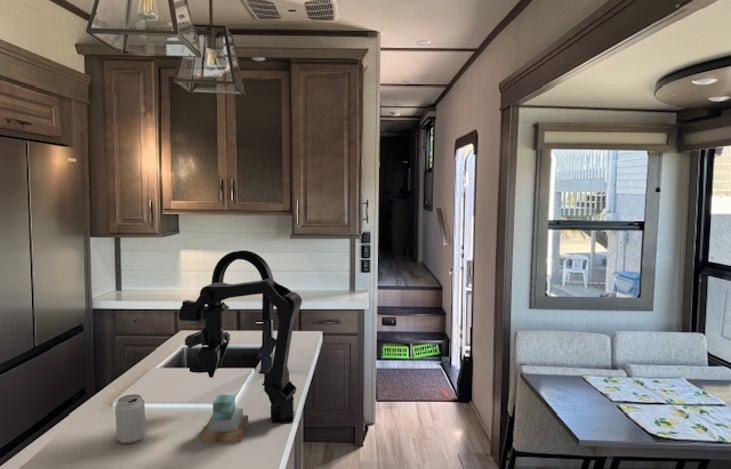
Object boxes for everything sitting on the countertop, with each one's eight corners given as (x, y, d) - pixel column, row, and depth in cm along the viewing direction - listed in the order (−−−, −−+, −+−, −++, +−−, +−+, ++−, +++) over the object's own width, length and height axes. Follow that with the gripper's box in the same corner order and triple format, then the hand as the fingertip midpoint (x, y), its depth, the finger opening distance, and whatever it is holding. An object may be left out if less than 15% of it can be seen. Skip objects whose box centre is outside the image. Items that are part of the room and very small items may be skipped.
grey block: (243, 417, 150) (242, 408, 149) (237, 431, 142) (237, 421, 141) (216, 418, 149) (216, 408, 149) (209, 431, 141) (208, 421, 141)
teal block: (235, 411, 147) (234, 394, 147) (230, 419, 143) (230, 402, 142) (218, 411, 147) (217, 395, 147) (213, 419, 142) (212, 402, 142)
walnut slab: (248, 424, 152) (248, 415, 151) (241, 443, 141) (241, 433, 140) (211, 425, 151) (211, 416, 151) (202, 444, 140) (201, 434, 140)
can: (134, 446, 138) (132, 405, 137) (110, 443, 139) (108, 402, 138) (151, 433, 145) (149, 393, 144) (128, 430, 147) (126, 391, 145)
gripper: (195, 315, 165) (197, 361, 166) (177, 333, 146) (179, 384, 148) (229, 315, 165) (230, 360, 167) (216, 332, 147) (217, 383, 149)
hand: (214, 371), depth 158 cm, fingers open, 9 cm apart
